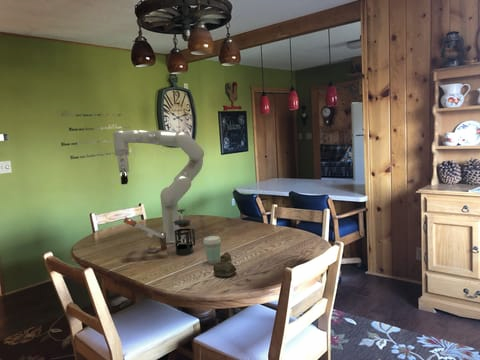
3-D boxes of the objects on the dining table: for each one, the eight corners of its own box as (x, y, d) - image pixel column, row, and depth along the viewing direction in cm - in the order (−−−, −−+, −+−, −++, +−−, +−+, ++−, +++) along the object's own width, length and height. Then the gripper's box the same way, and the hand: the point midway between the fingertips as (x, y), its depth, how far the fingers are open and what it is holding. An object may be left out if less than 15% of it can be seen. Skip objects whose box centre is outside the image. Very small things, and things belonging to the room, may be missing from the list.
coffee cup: (213, 258, 186) (211, 234, 185) (226, 261, 181) (224, 236, 180) (201, 263, 180) (199, 239, 178) (214, 266, 175) (212, 241, 173)
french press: (179, 257, 191) (176, 212, 188) (171, 253, 198) (167, 210, 195) (199, 251, 198) (196, 208, 195) (190, 248, 205) (187, 206, 202)
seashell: (245, 258, 165) (229, 253, 172) (227, 250, 157) (212, 245, 165) (235, 283, 162) (220, 277, 169) (217, 276, 155) (202, 270, 162)
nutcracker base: (168, 250, 203) (166, 230, 201) (167, 257, 191) (166, 236, 189) (126, 255, 199) (124, 235, 198) (122, 262, 187) (120, 241, 186)
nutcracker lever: (162, 240, 197) (165, 233, 197) (162, 242, 194) (165, 235, 194) (122, 223, 192) (126, 216, 192) (121, 225, 190) (125, 217, 189)
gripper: (128, 153, 203) (131, 184, 205) (129, 151, 219) (132, 180, 221) (113, 154, 201) (116, 185, 203) (115, 152, 217) (118, 182, 220)
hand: (124, 183), depth 212 cm, fingers open, 9 cm apart
